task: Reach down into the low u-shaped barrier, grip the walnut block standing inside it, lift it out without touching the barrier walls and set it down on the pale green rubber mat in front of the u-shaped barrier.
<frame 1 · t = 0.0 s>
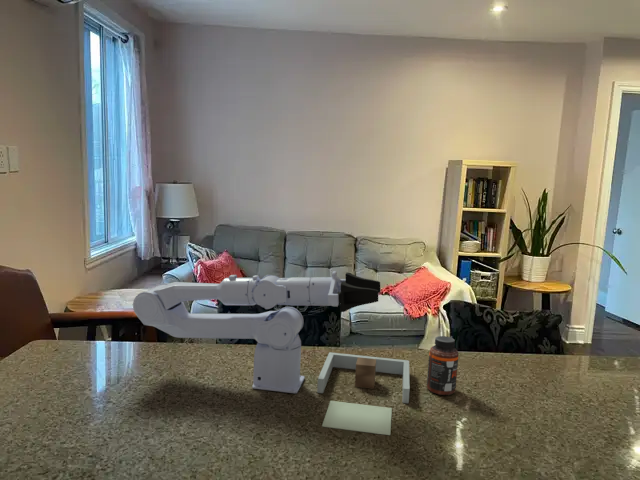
hand: (379, 291, 97), 22 cm above the kitchen counter, tool horizontal, fingers open, 7 cm apart
supplement bottle: (440, 391, 103), on the kitchen counter
mat: (358, 417, 90), on the kitchen counter
block: (364, 383, 105), on the kitchen counter
u-shaped barrier: (365, 383, 105), on the kitchen counter
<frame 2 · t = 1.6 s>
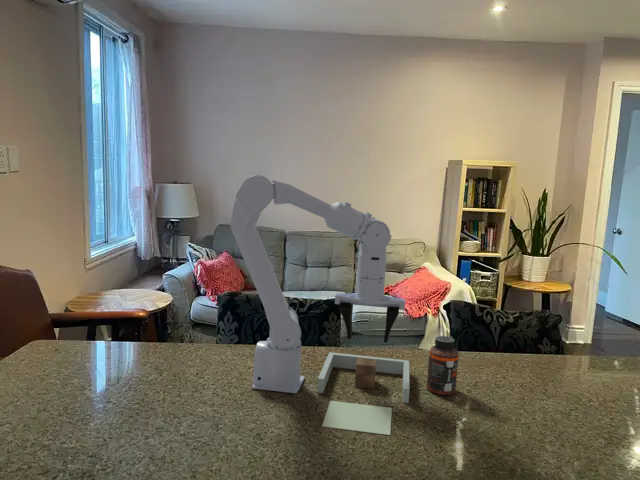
hand: (367, 339, 103), 10 cm above the kitchen counter, tool pointing down, fingers open, 7 cm apart
nothing on the kitchen counter moved.
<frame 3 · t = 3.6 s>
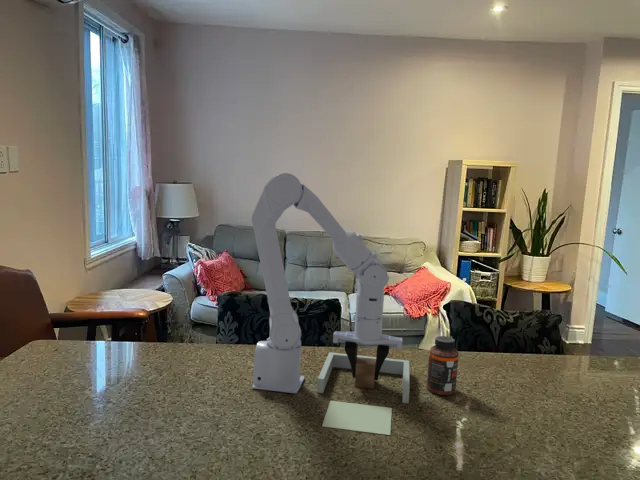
hand: (365, 377, 105), 1 cm above the kitchen counter, tool pointing down, fingers closed on block, 4 cm apart
block: (365, 383, 105), on the kitchen counter, touching gripper
everything else where it was.
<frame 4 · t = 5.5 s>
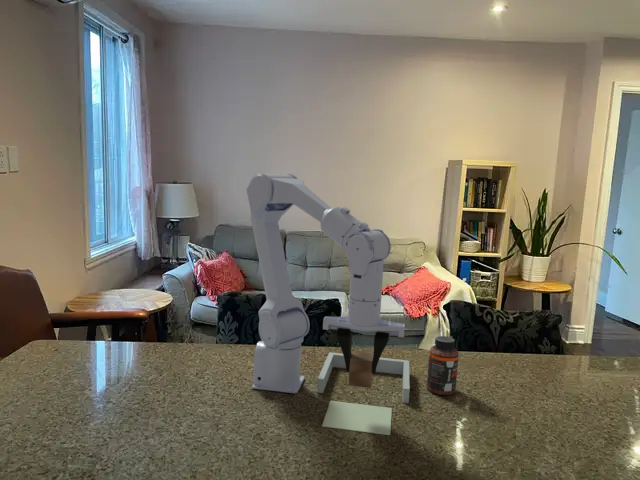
hand: (361, 370, 89), 9 cm above the kitchen counter, tool pointing down, fingers closed on block, 4 cm apart
block: (360, 382, 90), point 7 cm above the kitchen counter, touching gripper
everything else where it was.
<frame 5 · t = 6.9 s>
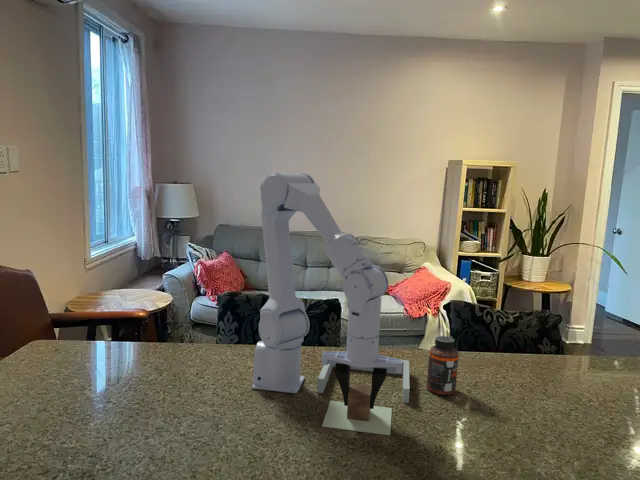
hand: (359, 404, 90), 2 cm above the kitchen counter, tool pointing down, fingers closed on block, 4 cm apart
block: (358, 414, 91), resting on mat, touching gripper
everything else where it was.
when the fingers open (2 cm above the kitchen counter, at t = 7.5 s): block stays where it is, resting on mat.
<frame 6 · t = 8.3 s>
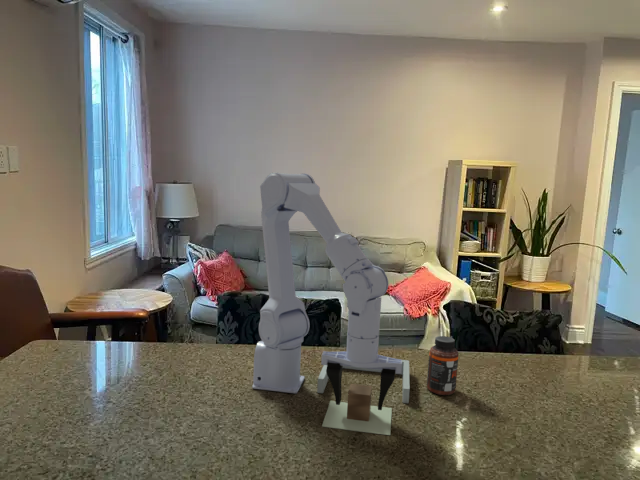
hand: (359, 404, 90), 2 cm above the kitchen counter, tool pointing down, fingers open, 7 cm apart
block: (358, 414, 91), resting on mat
everything else where it was.
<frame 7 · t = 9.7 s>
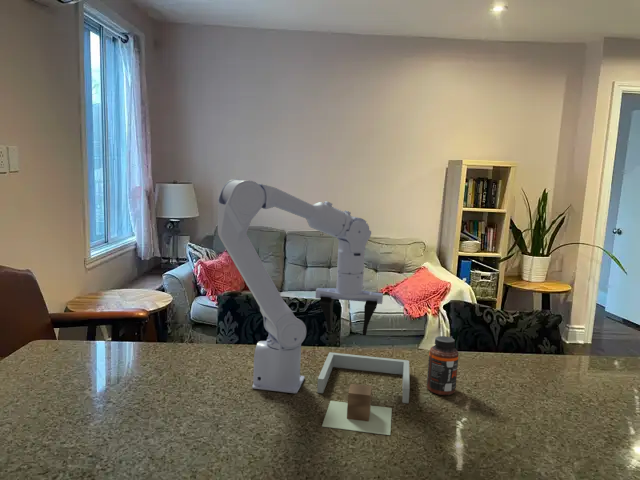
hand: (347, 332, 107), 10 cm above the kitchen counter, tool pointing down, fingers open, 7 cm apart
nothing on the kitchen counter moved.
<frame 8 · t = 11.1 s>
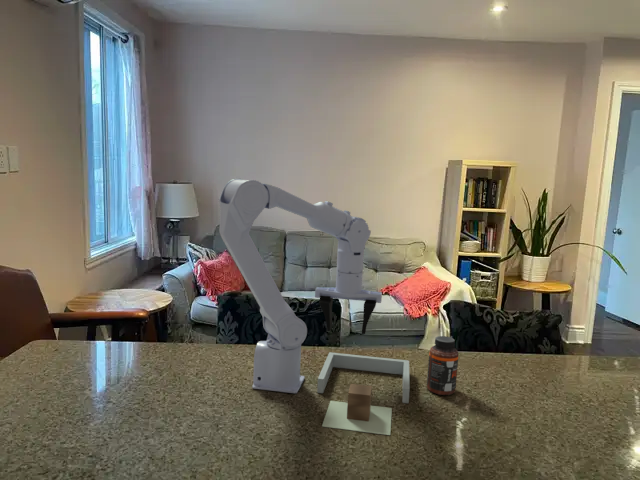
hand: (346, 331, 108), 10 cm above the kitchen counter, tool pointing down, fingers open, 7 cm apart
nothing on the kitchen counter moved.
at the end: block inside the target area (0.7 cm from its centre), resting on mat; block tilted 0°; block touching mat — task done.
